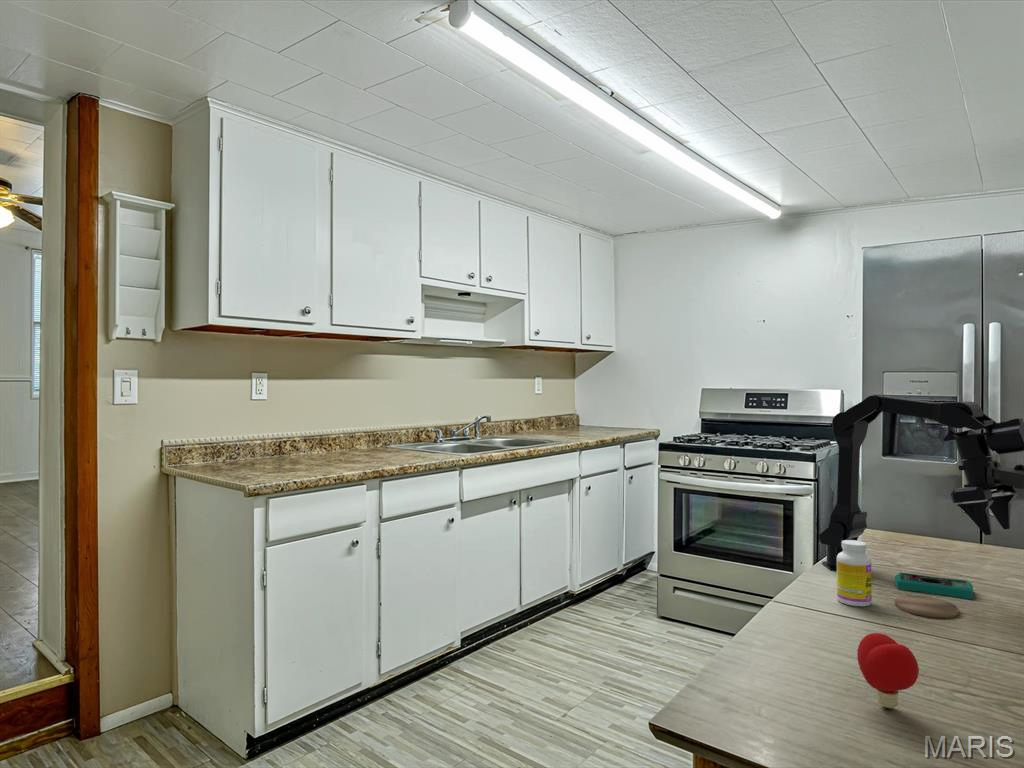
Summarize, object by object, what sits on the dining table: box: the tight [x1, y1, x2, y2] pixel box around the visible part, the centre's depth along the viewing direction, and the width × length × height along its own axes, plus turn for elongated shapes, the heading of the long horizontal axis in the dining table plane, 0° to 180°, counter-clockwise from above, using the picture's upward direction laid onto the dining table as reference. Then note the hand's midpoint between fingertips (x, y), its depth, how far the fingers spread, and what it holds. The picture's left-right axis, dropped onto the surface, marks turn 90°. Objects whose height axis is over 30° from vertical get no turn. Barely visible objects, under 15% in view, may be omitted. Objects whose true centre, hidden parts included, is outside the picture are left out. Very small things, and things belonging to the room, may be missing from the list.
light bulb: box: [856, 632, 920, 711], centre depth 94 cm, size 9×7×10 cm
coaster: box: [894, 594, 959, 619], centre depth 135 cm, size 11×11×1 cm
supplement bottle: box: [836, 540, 873, 608], centre depth 139 cm, size 7×7×13 cm
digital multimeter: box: [894, 572, 974, 600], centre depth 147 cm, size 7×15×3 cm, turn 58°
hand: (997, 531), depth 137 cm, fingers open, 9 cm apart
